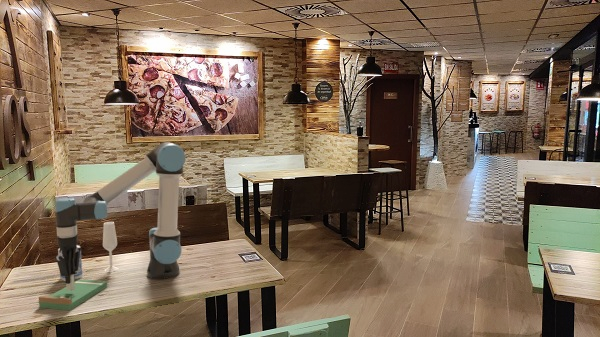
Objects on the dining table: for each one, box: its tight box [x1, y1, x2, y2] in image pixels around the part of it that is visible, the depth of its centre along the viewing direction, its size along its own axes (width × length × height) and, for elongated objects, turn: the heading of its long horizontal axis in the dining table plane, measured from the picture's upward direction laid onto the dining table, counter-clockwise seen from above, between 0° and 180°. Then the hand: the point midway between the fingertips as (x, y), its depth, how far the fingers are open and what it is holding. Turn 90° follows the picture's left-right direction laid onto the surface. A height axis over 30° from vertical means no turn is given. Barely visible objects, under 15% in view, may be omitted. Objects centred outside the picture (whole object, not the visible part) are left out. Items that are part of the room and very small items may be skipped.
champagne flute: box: [102, 221, 120, 273], centre depth 217 cm, size 7×7×24 cm
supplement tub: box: [57, 244, 83, 282], centre depth 207 cm, size 10×10×15 cm
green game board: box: [38, 278, 108, 311], centre depth 186 cm, size 14×24×4 cm, turn 169°
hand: (70, 289), depth 184 cm, fingers closed
